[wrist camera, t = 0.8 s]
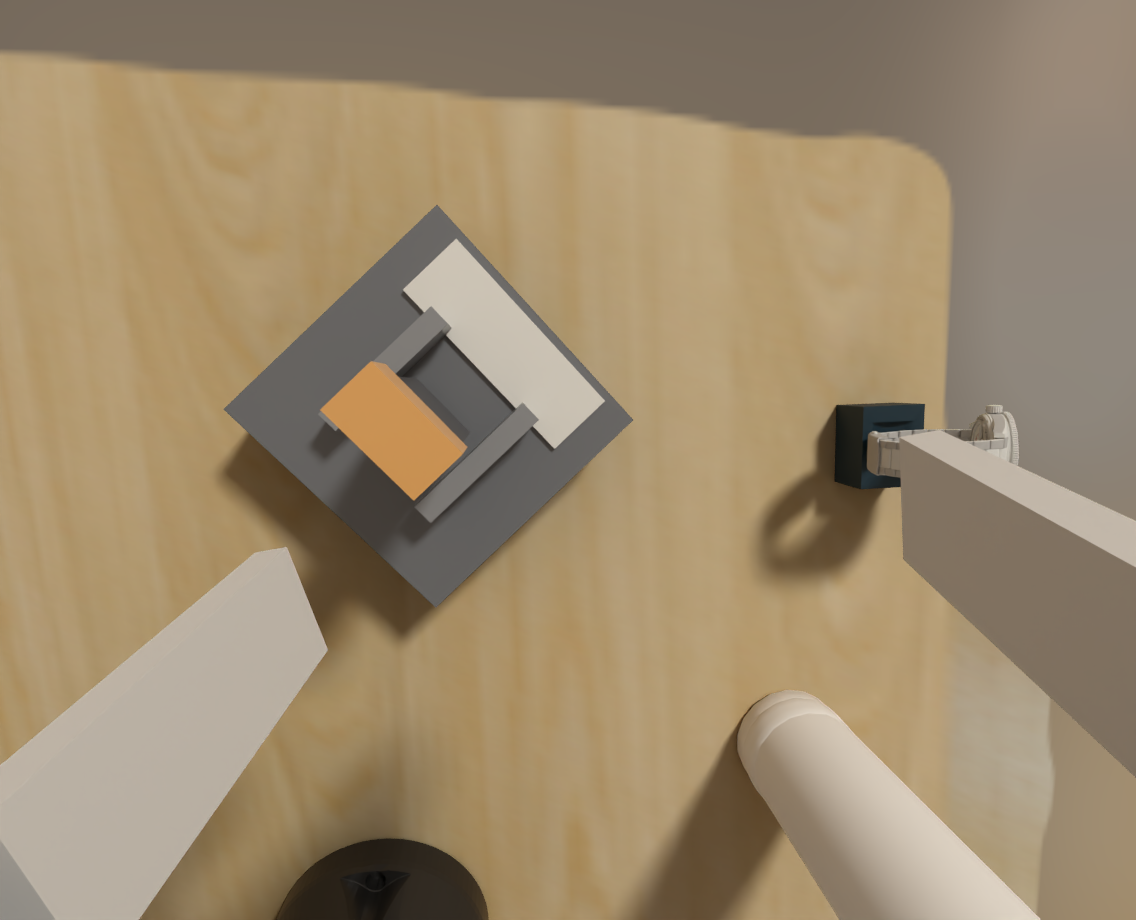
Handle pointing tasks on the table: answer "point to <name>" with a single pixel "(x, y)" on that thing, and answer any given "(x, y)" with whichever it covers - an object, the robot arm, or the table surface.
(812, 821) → the bottle
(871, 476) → the watch
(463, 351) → the box
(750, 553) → the table surface
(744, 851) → the table surface
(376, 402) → the lever
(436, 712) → the table surface
